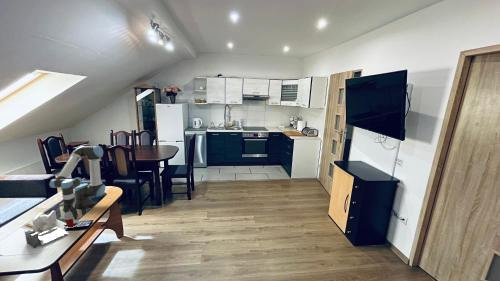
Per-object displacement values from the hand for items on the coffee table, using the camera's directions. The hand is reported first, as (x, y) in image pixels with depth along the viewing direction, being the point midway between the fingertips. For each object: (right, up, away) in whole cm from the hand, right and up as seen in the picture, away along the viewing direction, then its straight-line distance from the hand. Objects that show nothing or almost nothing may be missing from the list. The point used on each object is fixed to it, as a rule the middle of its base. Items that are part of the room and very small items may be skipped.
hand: (71, 220), depth 184 cm
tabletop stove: (-8, -9, -14) cm, 18 cm away
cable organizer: (-24, -5, +1) cm, 24 cm away
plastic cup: (0, -6, +1) cm, 6 cm away
